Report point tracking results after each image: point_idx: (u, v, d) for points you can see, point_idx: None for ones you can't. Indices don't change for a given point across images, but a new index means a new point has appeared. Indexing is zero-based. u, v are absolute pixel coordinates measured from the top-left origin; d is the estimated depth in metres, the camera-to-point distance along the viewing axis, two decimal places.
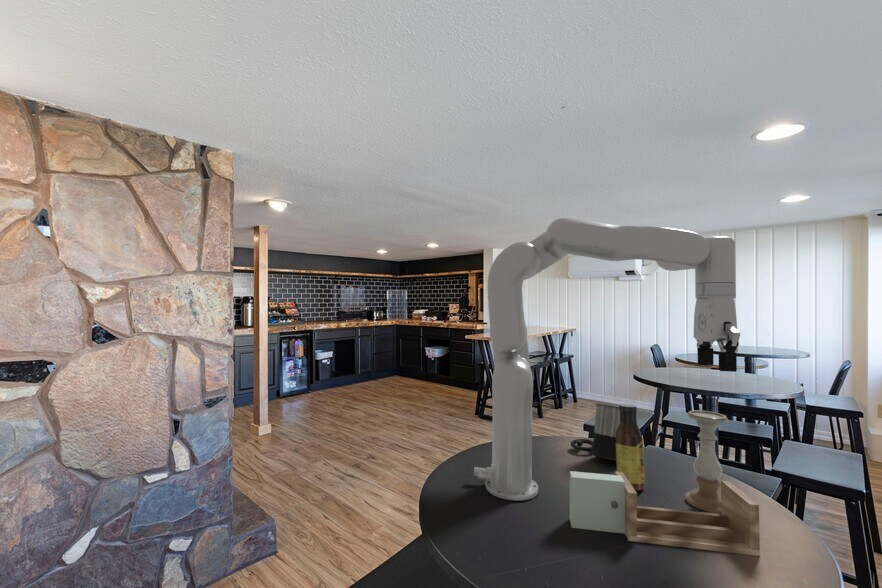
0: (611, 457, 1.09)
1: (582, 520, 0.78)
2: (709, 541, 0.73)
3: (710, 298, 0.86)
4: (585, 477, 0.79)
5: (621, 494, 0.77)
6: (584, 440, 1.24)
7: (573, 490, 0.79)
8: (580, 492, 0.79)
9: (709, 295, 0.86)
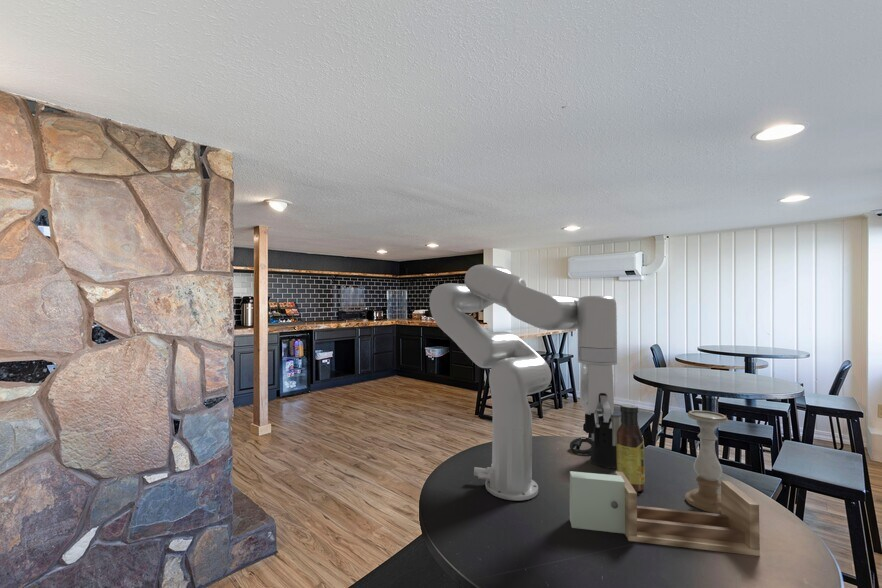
0: (610, 466, 1.08)
1: (582, 520, 0.78)
2: (709, 541, 0.73)
3: (587, 365, 0.78)
4: (585, 477, 0.79)
5: (621, 494, 0.77)
6: (583, 439, 1.24)
7: (573, 490, 0.79)
8: (580, 492, 0.79)
9: (587, 361, 0.78)
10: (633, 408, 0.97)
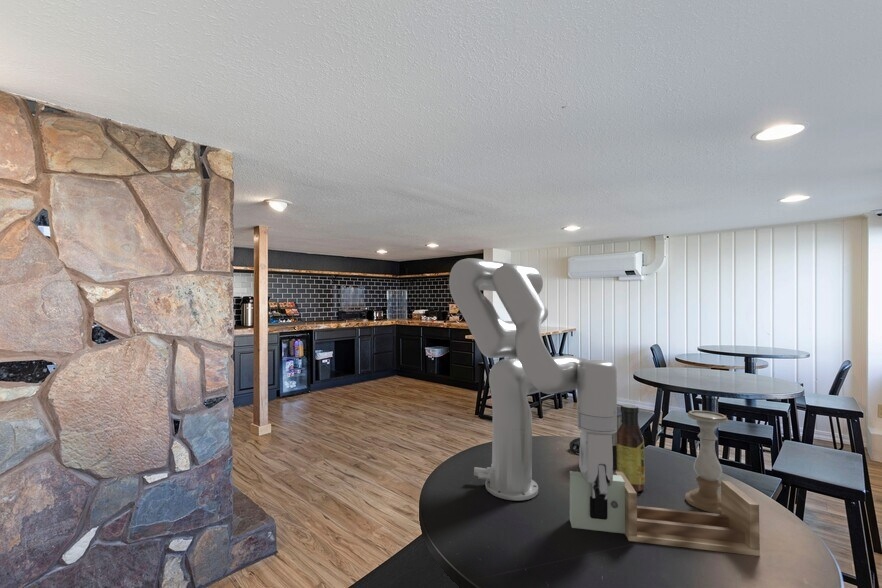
0: None
1: (582, 520, 0.78)
2: (709, 541, 0.73)
3: (587, 433, 0.77)
4: None
5: (621, 494, 0.77)
6: None
7: (573, 490, 0.79)
8: (580, 492, 0.79)
9: (586, 429, 0.77)
10: (633, 408, 0.96)
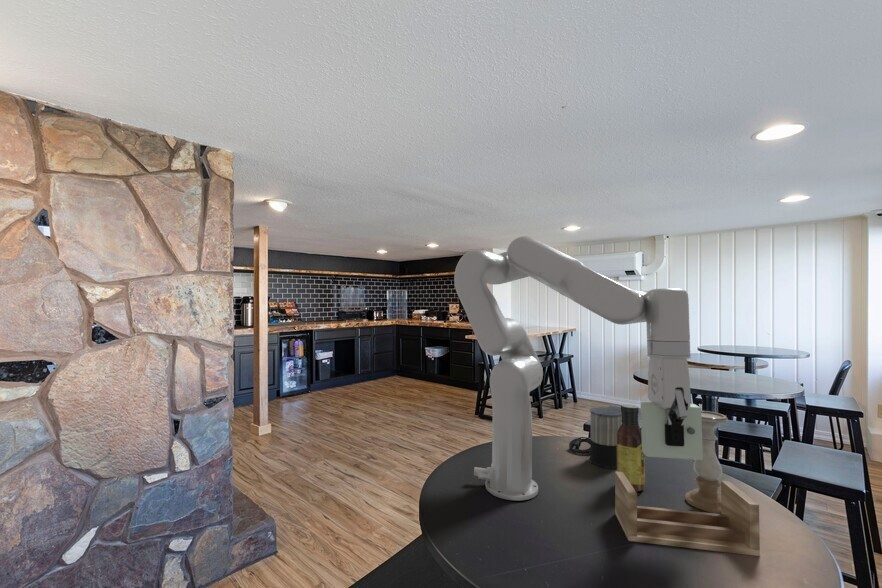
0: (609, 466, 1.09)
1: (657, 448, 0.77)
2: (709, 541, 0.73)
3: (661, 359, 0.76)
4: None
5: (698, 420, 0.76)
6: (582, 439, 1.24)
7: (647, 418, 0.78)
8: (654, 420, 0.77)
9: (660, 355, 0.76)
10: (634, 408, 0.96)
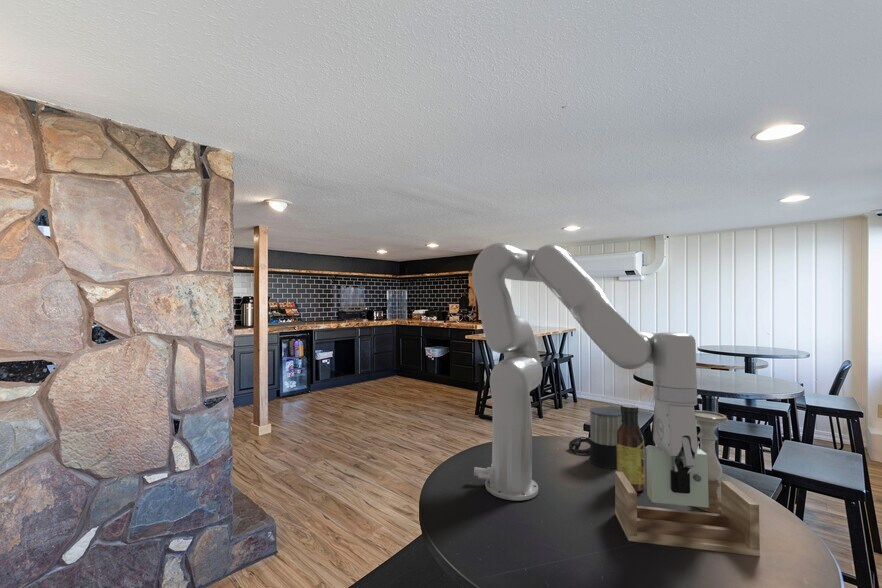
0: (609, 465, 1.09)
1: (663, 495, 0.77)
2: (709, 541, 0.73)
3: (668, 405, 0.76)
4: None
5: (704, 467, 0.75)
6: (582, 439, 1.24)
7: (653, 464, 0.77)
8: (660, 466, 0.77)
9: (667, 401, 0.76)
10: (633, 408, 0.97)
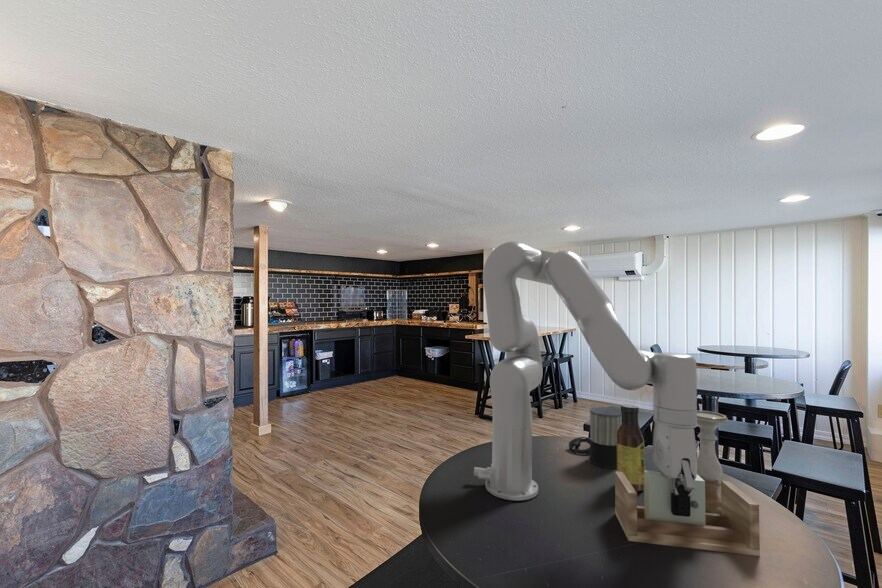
0: (608, 465, 1.09)
1: (660, 520, 0.77)
2: (709, 541, 0.73)
3: (667, 427, 0.75)
4: (662, 476, 0.77)
5: (701, 494, 0.76)
6: (582, 439, 1.24)
7: (650, 489, 0.77)
8: (657, 492, 0.77)
9: (666, 423, 0.76)
10: (634, 408, 0.97)
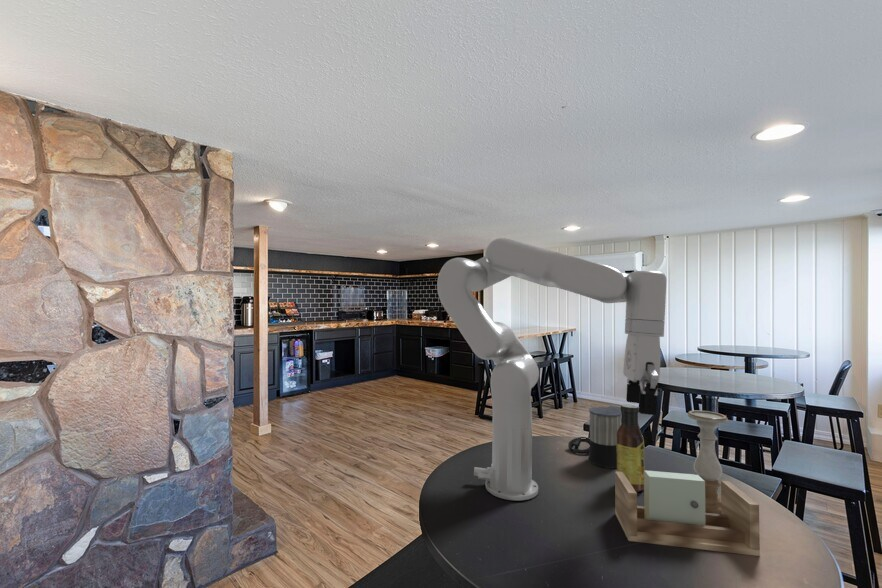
0: (608, 465, 1.09)
1: (660, 520, 0.77)
2: (709, 541, 0.73)
3: (636, 336, 0.82)
4: (663, 476, 0.77)
5: (701, 494, 0.76)
6: (582, 439, 1.24)
7: (650, 490, 0.77)
8: (657, 492, 0.77)
9: (635, 332, 0.82)
10: (633, 408, 0.97)
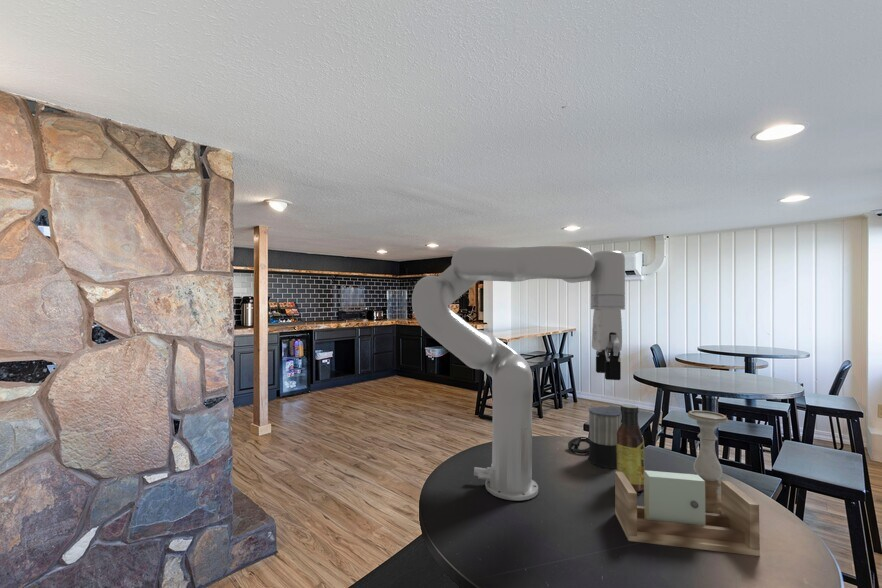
0: (607, 465, 1.09)
1: (660, 520, 0.77)
2: (709, 541, 0.73)
3: (599, 310, 0.90)
4: (663, 476, 0.77)
5: (701, 494, 0.76)
6: None
7: (650, 490, 0.77)
8: (657, 492, 0.77)
9: (599, 307, 0.90)
10: (633, 408, 0.97)
